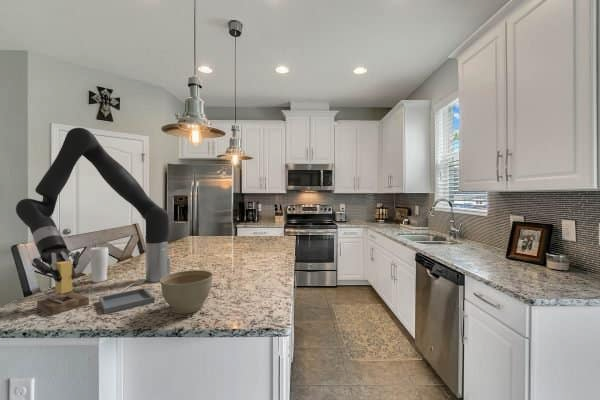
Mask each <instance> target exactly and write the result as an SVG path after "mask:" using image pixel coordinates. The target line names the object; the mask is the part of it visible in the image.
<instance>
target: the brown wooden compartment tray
mask: <svg viewBox="0 0 600 400" xmlns="http://www.w3.org/2000/svg"><path fill="white" fill-rule="evenodd" d="M87 305H90V297H89V296H86V295H83V294H80V293H76V292H73V291H69V292H66V293H62V294H59V295H55V296H51V297H50V296H47V297H46V298H43V299H39V300H37V301H36V309H38V310H41V311H43V312H45V313H48V314H49V315H52V316H54V315H58V314H61V313H65V312H68V311H70V310H74V309H78V308H81V307H84V306H87Z"/></svg>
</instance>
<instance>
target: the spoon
mask: <svg viewBox="0 0 600 400" xmlns="http://www.w3.org/2000/svg"><path fill="white" fill-rule="evenodd" d="M145 281H146V279H144V278H143V279H139V280H137V281H135V282H133V283H131V284H129V285H128V286H126V287H124V288H122V289H120V290H119V291H117V292H115V293H114V294H116V293H121V292H125V291H126V290H127V289H128V288H130V287H131V286H133V285H134V286H139V285H143V284H144V283H146V282H145Z"/></svg>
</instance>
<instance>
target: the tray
mask: <svg viewBox="0 0 600 400" xmlns="http://www.w3.org/2000/svg"><path fill="white" fill-rule="evenodd" d="M115 293H116V294H115ZM115 293H112V294H106V295H102V296H99V297H98V302H99V304H100V305H99V306H101V309H102V311H103V314H104V315H108V314H113V313H115V312H121V311H124V310H129V309H134V308H136V307H141V306H146V305H150V304H154V303H156V301H155V300H156V299H155V296H154V295H153V294H152V293H151V292H149V290H147V288H146V287H144V288H143V287H142V288H141V287H140V288H138V289H132V290H127V291H126V290H125V291H123V292H121V293H117V292H115Z"/></svg>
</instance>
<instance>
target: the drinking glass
mask: <svg viewBox="0 0 600 400" xmlns="http://www.w3.org/2000/svg"><path fill="white" fill-rule="evenodd" d="M89 259H90V260H89V262H90V269H91V281H92V282H93V283H102V282H105V281H107V279H108V278H107V277H108V267H109V266H108V263H109V247H108V246H99V247H97V246H96V247H92V248H90V249H89Z"/></svg>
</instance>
